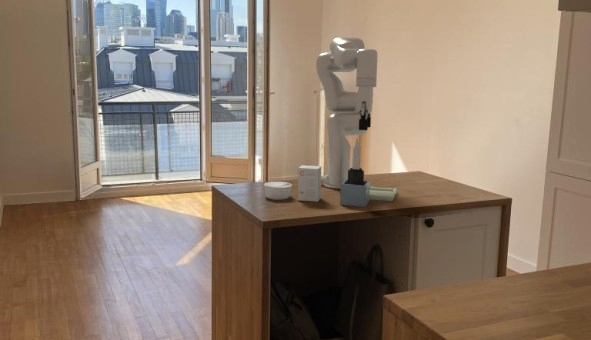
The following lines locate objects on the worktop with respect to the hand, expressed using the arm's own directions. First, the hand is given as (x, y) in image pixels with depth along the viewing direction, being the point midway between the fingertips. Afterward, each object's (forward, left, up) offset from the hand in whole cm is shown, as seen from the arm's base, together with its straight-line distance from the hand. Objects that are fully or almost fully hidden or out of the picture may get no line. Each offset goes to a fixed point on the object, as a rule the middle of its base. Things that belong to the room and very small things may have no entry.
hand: (364, 128), depth 227 cm
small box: (-21, -2, -29) cm, 35 cm away
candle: (-3, -2, -29) cm, 29 cm away
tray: (+3, +13, -29) cm, 32 cm away
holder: (-3, -2, -29) cm, 29 cm away
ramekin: (-34, -2, -29) cm, 44 cm away
